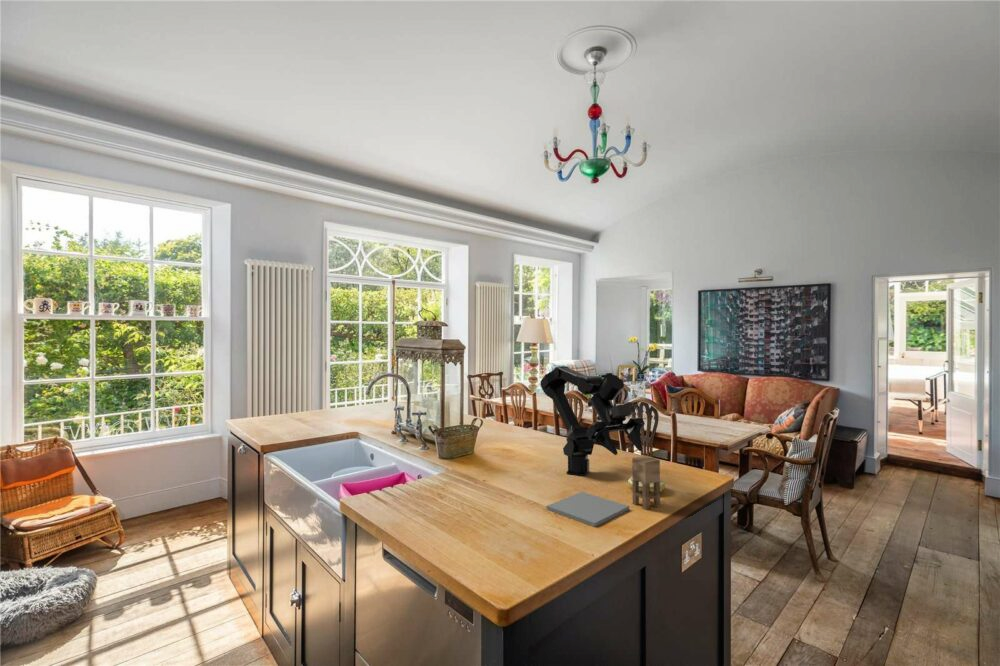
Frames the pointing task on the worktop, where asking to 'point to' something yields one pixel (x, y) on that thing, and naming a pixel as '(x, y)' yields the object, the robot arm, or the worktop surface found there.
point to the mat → (588, 508)
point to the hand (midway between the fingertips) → (629, 452)
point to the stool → (646, 480)
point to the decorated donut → (650, 485)
